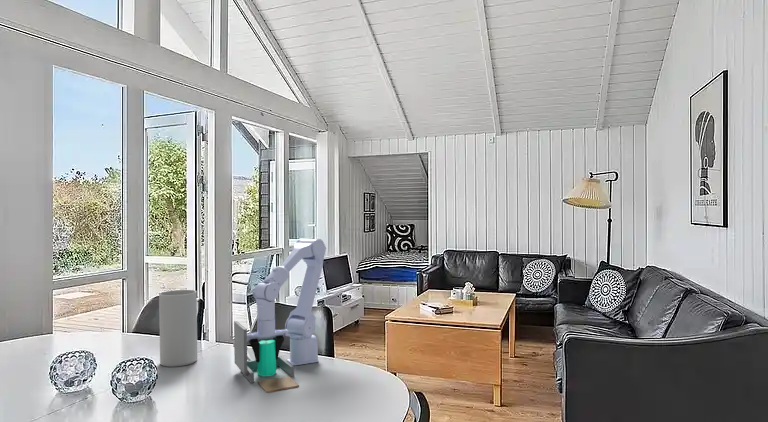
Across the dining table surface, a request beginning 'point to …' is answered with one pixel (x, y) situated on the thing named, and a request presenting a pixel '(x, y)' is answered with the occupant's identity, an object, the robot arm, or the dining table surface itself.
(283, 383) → the tan pad
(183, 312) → the cylinder vase
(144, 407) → the dining table surface
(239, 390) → the dining table surface
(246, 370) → the grey bracket
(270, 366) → the candle
